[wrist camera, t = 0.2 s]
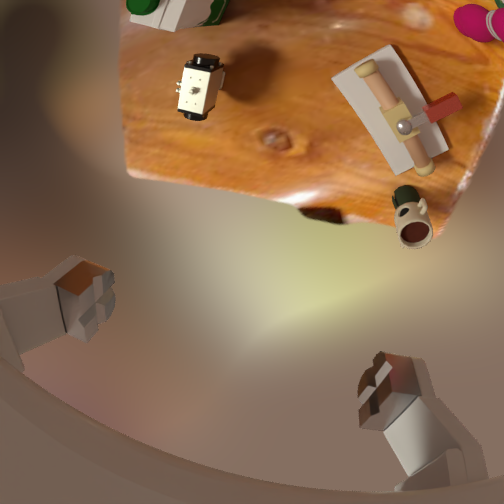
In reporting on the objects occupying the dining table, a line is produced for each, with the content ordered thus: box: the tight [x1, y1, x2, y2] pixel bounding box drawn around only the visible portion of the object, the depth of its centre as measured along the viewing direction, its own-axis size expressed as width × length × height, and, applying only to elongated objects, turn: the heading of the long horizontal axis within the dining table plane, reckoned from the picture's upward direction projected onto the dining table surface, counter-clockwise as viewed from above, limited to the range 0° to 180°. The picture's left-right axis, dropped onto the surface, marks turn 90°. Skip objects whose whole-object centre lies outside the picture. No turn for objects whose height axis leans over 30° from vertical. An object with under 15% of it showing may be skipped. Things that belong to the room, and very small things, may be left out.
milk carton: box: [126, 0, 230, 32], centre depth 32 cm, size 9×9×20 cm
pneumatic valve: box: [176, 53, 226, 121], centre depth 46 cm, size 6×12×12 cm, turn 165°
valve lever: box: [396, 92, 463, 135], centre depth 37 cm, size 12×3×2 cm, turn 132°
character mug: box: [392, 186, 433, 249], centre depth 53 cm, size 11×7×13 cm, turn 172°
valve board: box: [331, 44, 449, 177], centre depth 43 cm, size 13×23×8 cm, turn 42°
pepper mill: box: [454, 4, 504, 42], centre depth 21 cm, size 7×7×20 cm
